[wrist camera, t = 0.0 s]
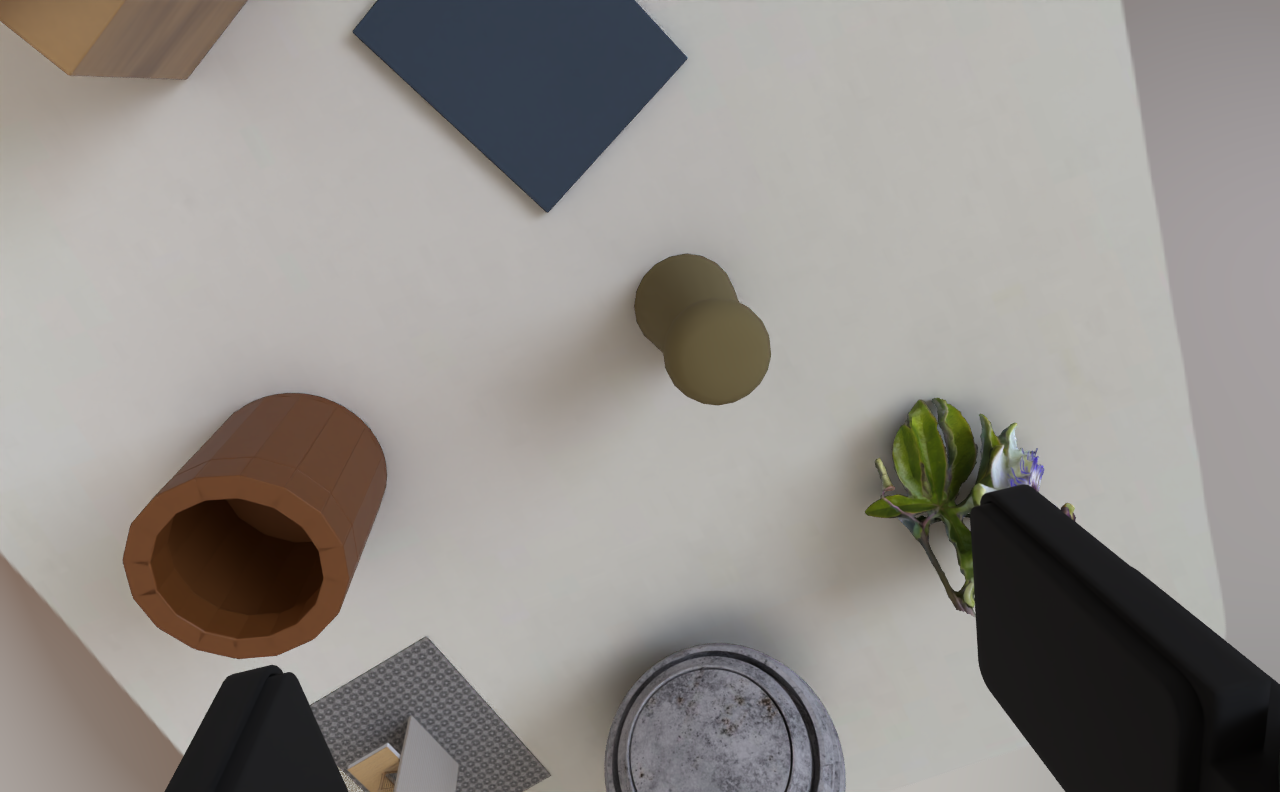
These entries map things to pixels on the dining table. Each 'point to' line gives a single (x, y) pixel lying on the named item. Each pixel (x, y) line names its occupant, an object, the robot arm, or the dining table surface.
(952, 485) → the passion flower
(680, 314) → the olive game pawn
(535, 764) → the architectural model
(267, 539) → the jar
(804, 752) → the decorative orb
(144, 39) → the tall wooden block
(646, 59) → the mat
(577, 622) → the dining table surface
